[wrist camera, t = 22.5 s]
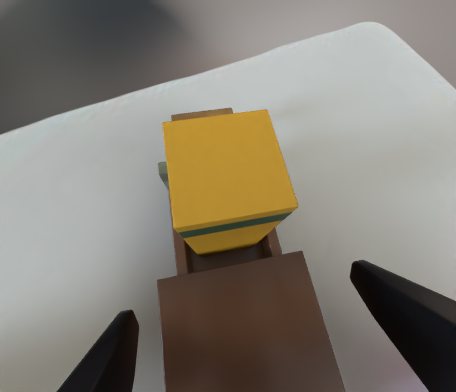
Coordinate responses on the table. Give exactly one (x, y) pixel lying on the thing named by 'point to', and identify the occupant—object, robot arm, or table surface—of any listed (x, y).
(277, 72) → the table surface
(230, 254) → the drawer
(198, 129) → the crayon box
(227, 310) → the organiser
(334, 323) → the table surface
